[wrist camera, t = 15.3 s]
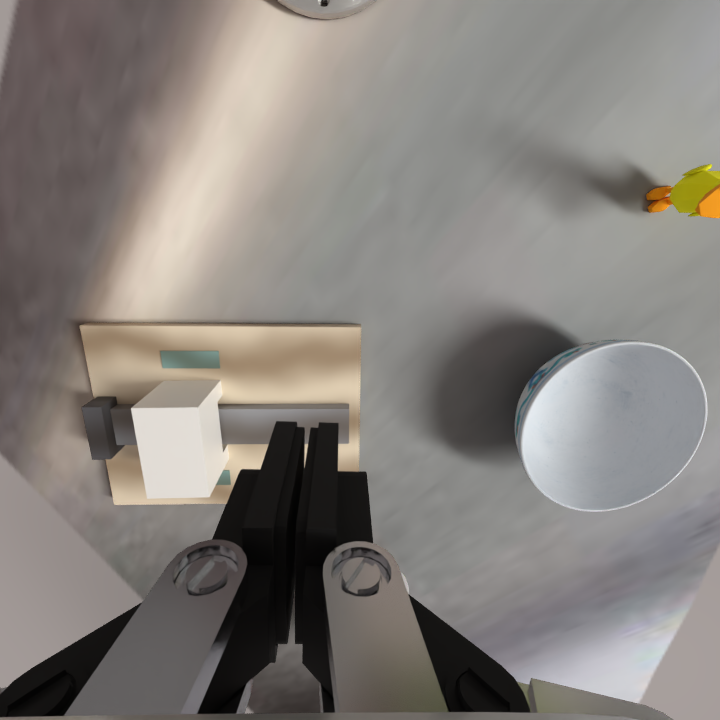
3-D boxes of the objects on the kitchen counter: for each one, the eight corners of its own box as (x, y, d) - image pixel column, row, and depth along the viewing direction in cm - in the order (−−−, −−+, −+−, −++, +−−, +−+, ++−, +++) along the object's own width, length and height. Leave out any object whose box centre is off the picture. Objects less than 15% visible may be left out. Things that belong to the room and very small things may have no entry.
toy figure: (621, 235, 35) (754, 236, 24) (613, 194, 34) (748, 174, 23) (698, 204, 35) (871, 191, 23) (692, 162, 34) (871, 126, 22)
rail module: (164, 380, 36) (130, 408, 31) (220, 380, 37) (198, 407, 31) (176, 465, 39) (148, 504, 33) (229, 463, 39) (210, 503, 33)
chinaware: (616, 466, 43) (674, 515, 35) (476, 459, 42) (504, 508, 34) (659, 326, 38) (735, 348, 31) (503, 314, 37) (543, 334, 30)
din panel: (87, 322, 36) (61, 332, 32) (360, 324, 37) (362, 333, 33) (120, 497, 41) (100, 521, 38) (357, 494, 42) (359, 517, 39)
